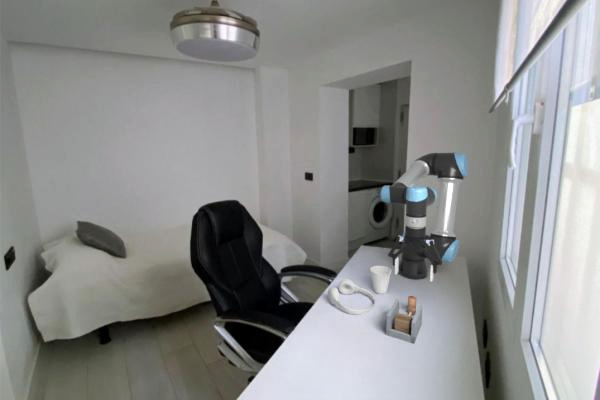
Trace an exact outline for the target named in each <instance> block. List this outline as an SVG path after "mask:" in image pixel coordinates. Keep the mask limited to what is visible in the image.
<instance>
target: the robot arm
mask: <svg viewBox="0 0 600 400" xmlns="http://www.w3.org/2000/svg"><path fill="white" fill-rule="evenodd" d="M468 175H469V160H468V156H467V155H466V154H465V153H464V152H430V153H426V154H424V155H422V156H420V157H418V158H417V159H415V160H413V162H412V163H411V164H410V166H409V168H408V169H407V170H406V171H405V172H404V173H403V174H402V175H401V176H400V177H399V178H398V179H397V181H395V182H394V183H393V184H392V185H383V186H382V188H380V195H379V196H380V199H381V200H380V201H382V202H384V203H389V204H395V205H396V204H398V205H405V222H404V223H405V226H404V227H405V229H404V233H402V235H401V234H398V235H397V236H396V238H395V239H396V240H395V242H394V244H393V246H392V248H391V249H390V251H389V253H388V254H387V256H388V257H390V258H391V259H392V266H393V267H394V275H396V276H397V275H400V276H401V277H403V278H407V279H411V280H423V279H425V278H427V277H429V282H433V281H434V274H436V273H437V269H438V266H441V265H442V264H443V263H449V264H450V263H451V264H452V263H453V262H454V261H455V260H456V258H457V256H458V253H459V248H460V240H458V239H457V235H456V234H455V232H454V230H455V223H456V212H457V204H458V198H459V188H460V184H461V183H462V182H464V178H468ZM428 176H435V177H437V181H438V182H439V189H438V193H437V191H436V189H434V188H433V187H431V186H421V185H417V184H418V183H419V182H420V181H421V180H422V179H424V178H426V177H428ZM436 201H437V205H436V213H435V222H434V229H433V230H432V231H430V235H427V231H426V230H427V229H426V226H427V211H428V210H427V208H428V207H430V206H432V205H433V204H434V203H435V202H436ZM400 243H401V248H400V249H399V250H398V251H396V249H397V248H398V246H399V244H400ZM395 251H396V252H395ZM400 255H401V258H400V262H399V257H398V256H400ZM426 259H428V261H429V262H430V263H431V264H430V275H429V276H428V274H429V269H428V267H427V264H426Z"/></svg>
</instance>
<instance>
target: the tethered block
mask: <svg viewBox="0 0 600 400" xmlns="http://www.w3.org/2000/svg"><path fill="white" fill-rule="evenodd" d="M416 311H417V297H416V296H415V295H410V296H409V295H408V297H407V314H404V313H401V312H399V313H398V315H397V317H396V319H395V326H394V330H396V331H400V332H403V333H406V334H410V335H411V326H412V321H413V316H415V314H416Z"/></svg>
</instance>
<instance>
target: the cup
mask: <svg viewBox="0 0 600 400" xmlns="http://www.w3.org/2000/svg"><path fill="white" fill-rule="evenodd" d="M369 271H370V274H371V281H372V286H373V291H374V292H375V293H376V294H378V295H385V294H386V293H387V292H388V288H389V284H390V278H391V274H392V268H391V267H388V266H385V265H373V266H371V267H370V268H369Z"/></svg>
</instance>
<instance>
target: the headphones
mask: <svg viewBox="0 0 600 400" xmlns="http://www.w3.org/2000/svg"><path fill="white" fill-rule="evenodd" d="M354 292H355V293H357V292H358V293H362V294H364V295H365V296H367V297H369V299H371V301H372V302H373V304H372V305H371V306H370V307H368V308H366V309H363V310H359V309H354V308H350V307H347V306H345V305H344V304H343V303H341V302H340V299H341V297H340V294H343V295H344V296H345V295H346V296H350V295H353V294H354ZM375 297H376V296H375V295H374V294H373V293H372V292H370V291H369V290H367V289H366V288H362V287H360V286H358V285H357V284H356V283H354V282H353V281H352V280H351V279H348V278H347V279H346V278H345V279H342V280H340V282H339V284H338V288H337V287H336V286H335V287H334V286H333V287H329V288H328V290H327V298H328V301H329V303H330V304H332V305H334V306H337V308H338V309H340V310H341V311H342V312H345V313H347V314H350V315H354V316H360V315H361V316H362V315H365V314H367V313H369V312H371V311H372V310H373V308H374V307H375V303H376V298H375Z"/></svg>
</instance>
